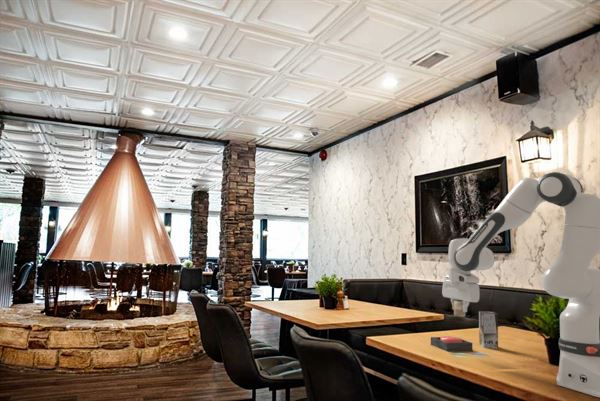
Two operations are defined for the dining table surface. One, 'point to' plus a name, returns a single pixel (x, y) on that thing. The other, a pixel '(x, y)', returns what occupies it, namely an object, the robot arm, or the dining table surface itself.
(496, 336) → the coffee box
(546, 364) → the dining table surface
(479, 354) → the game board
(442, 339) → the dome
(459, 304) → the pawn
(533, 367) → the dining table surface
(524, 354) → the dining table surface
